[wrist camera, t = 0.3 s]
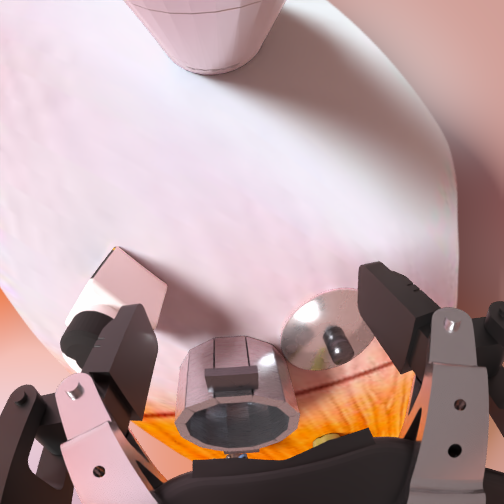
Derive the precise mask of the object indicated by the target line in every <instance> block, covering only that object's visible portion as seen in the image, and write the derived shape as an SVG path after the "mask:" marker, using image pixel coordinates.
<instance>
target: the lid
mask: <svg viewBox="0 0 504 504" xmlns="http://www.w3.org/2000/svg"><path fill="white" fill-rule="evenodd" d="M357 299H358V289H354V288H337V289H332V290H328V291H325V292H322V293H320V294H317V295H315V296H314V297H312V298H310V299H308V300H307V301H305V302H304V303H303V304H301V305H300V306H299V307H298V308H297V309H296V310H295V311H294V312H293V313H292V314H291V315H290V316H289V318H288V319H287V321H286V322H285V324H284V327H283V329H282V332H281V338H280V344H281V348H282V352H283V354H284V356H285V358H286V359H287V360H288V361H289V362H290V363H291V364H293V365H294V366H296V367H298V368H302V369H306V370H325V369H330V368H334V367H337V366H339V365H342V364H344V363H347V362H348V361H350V360H351V359H353V358H354V357H356V356H357V355H359V354H360V353H361V352H362V351H363V350H364V349H365V348H366V347H367V346H368V345H369V344H370V342H371V341H372V339H373V338H374V334H373V333H372V331H371V330H370V328H369V327H368V326H367V324H366V323H365V321H364V320H363V319H362V317H361V315H360V313H359V310H358V304H357Z"/></svg>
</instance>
